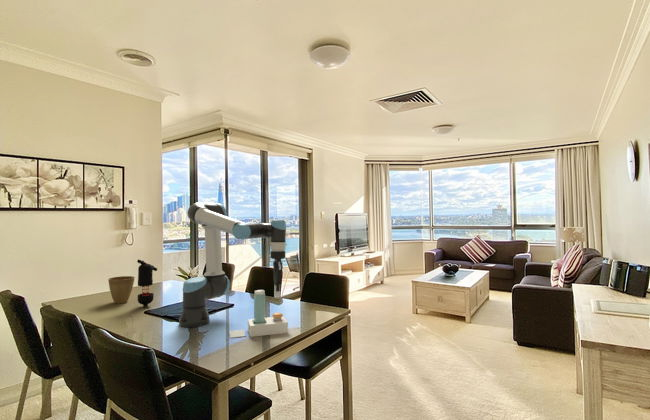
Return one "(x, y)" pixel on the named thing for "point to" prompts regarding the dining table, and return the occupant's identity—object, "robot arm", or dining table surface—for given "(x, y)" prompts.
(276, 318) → the plunger
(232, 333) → the mat
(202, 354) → the dining table surface
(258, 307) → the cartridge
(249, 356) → the dining table surface
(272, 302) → the dining table surface
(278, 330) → the base
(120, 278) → the plant pot
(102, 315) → the dining table surface
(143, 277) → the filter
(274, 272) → the robot arm
